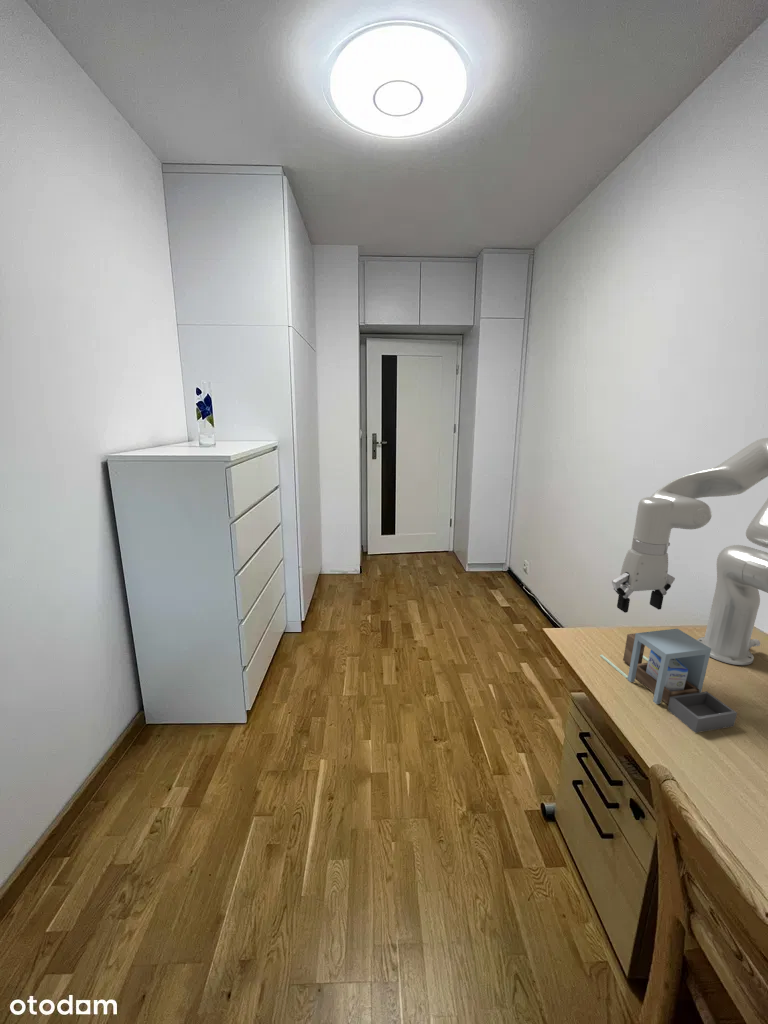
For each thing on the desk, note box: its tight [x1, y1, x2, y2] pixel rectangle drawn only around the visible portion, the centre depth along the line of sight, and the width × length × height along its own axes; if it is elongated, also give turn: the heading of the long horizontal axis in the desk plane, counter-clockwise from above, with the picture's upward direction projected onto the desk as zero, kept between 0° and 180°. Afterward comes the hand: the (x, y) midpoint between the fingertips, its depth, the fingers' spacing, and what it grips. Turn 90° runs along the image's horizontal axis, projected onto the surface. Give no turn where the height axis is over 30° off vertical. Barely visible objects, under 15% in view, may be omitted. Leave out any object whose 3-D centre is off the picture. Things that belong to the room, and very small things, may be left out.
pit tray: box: [667, 690, 738, 734], centre depth 91 cm, size 10×7×4 cm
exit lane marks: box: [599, 654, 649, 679], centre depth 110 cm, size 12×10×1 cm
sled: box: [622, 632, 700, 705], centre depth 102 cm, size 8×17×8 cm, turn 11°
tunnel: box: [627, 628, 711, 705], centre depth 99 cm, size 12×9×13 cm
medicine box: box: [646, 649, 688, 692], centre depth 100 cm, size 8×4×9 cm, turn 178°
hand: (638, 608), depth 106 cm, fingers open, 9 cm apart
